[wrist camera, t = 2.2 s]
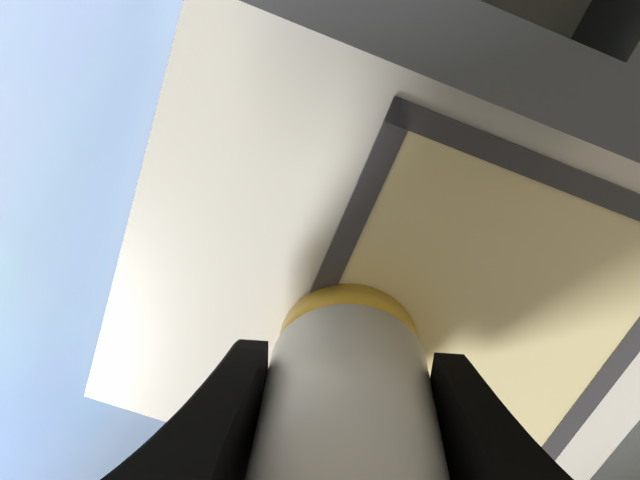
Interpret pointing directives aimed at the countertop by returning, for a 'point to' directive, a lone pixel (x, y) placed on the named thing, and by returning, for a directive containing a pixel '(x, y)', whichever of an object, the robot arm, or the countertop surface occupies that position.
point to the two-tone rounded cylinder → (347, 394)
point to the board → (375, 226)
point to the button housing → (503, 57)
